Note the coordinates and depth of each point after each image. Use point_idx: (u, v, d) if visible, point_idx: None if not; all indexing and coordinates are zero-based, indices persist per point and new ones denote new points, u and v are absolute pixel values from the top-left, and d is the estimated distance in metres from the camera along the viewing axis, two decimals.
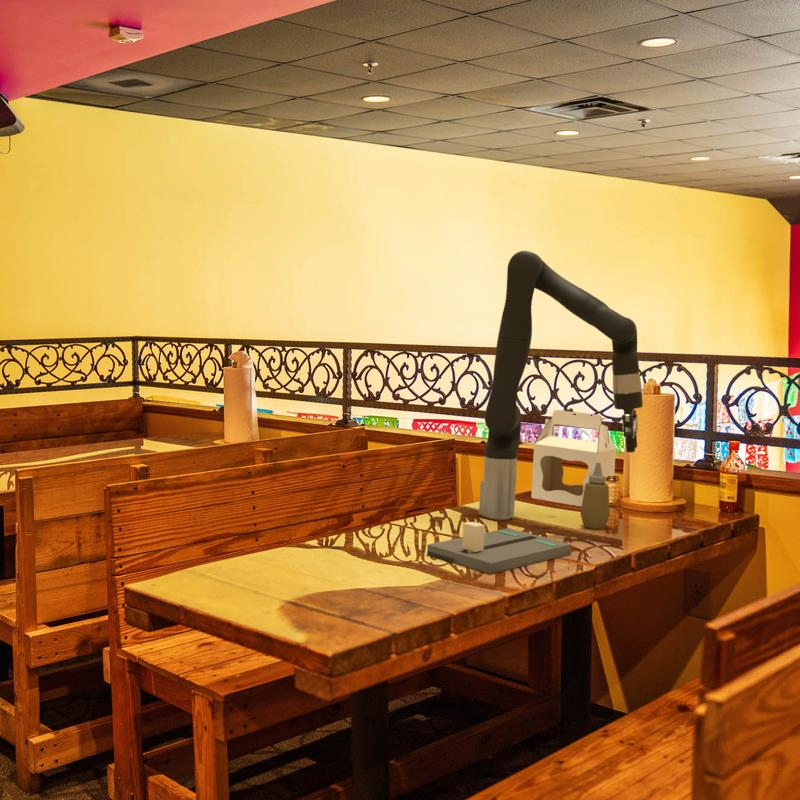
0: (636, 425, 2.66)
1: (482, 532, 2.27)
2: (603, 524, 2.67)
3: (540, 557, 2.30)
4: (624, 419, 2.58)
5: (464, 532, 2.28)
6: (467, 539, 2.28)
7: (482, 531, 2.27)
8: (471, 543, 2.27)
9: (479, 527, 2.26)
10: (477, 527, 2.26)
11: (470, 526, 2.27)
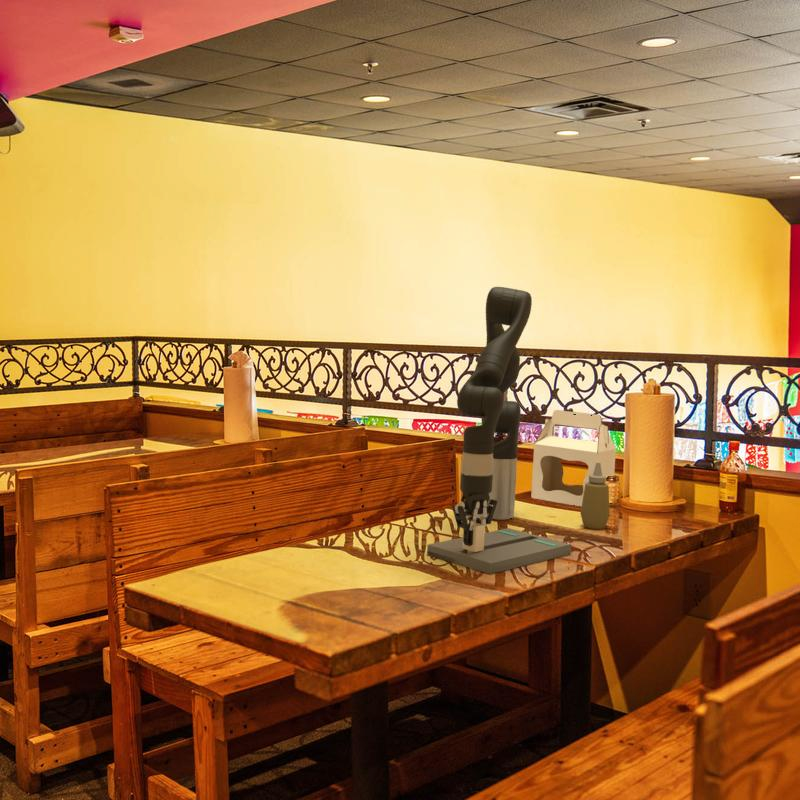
0: (482, 514, 2.27)
1: (482, 532, 2.27)
2: (603, 524, 2.67)
3: (540, 557, 2.30)
4: (454, 511, 2.24)
5: None
6: None
7: (482, 531, 2.27)
8: None
9: (479, 527, 2.26)
10: (477, 527, 2.26)
11: None
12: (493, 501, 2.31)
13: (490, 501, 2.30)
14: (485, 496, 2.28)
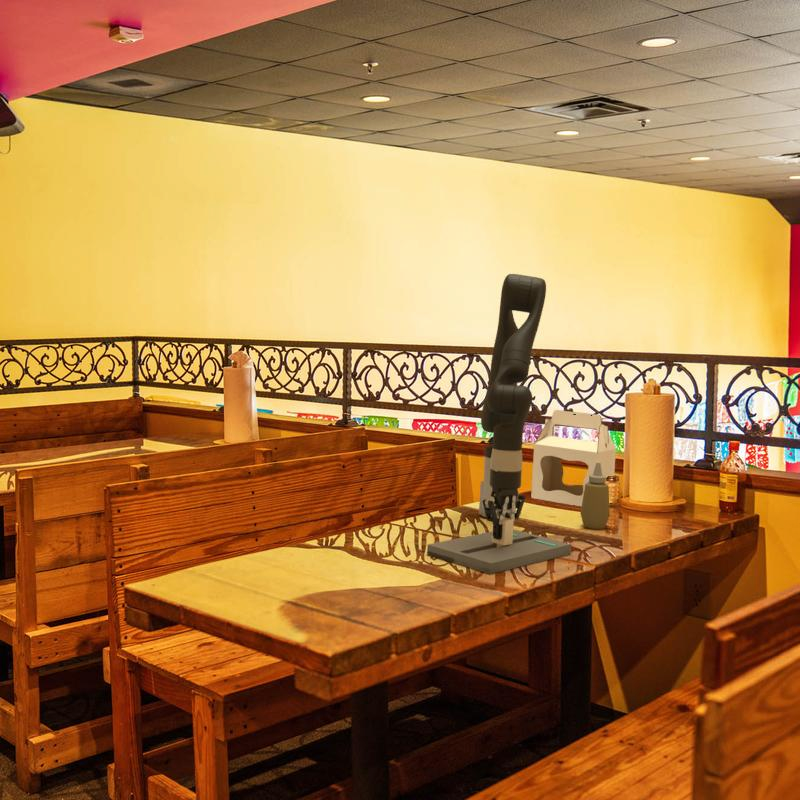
0: (511, 509, 2.35)
1: (511, 526, 2.34)
2: (603, 524, 2.67)
3: (540, 557, 2.30)
4: (484, 505, 2.31)
5: None
6: None
7: (511, 525, 2.34)
8: None
9: (508, 521, 2.34)
10: (506, 521, 2.33)
11: None
12: (521, 496, 2.38)
13: (518, 496, 2.38)
14: (514, 491, 2.35)
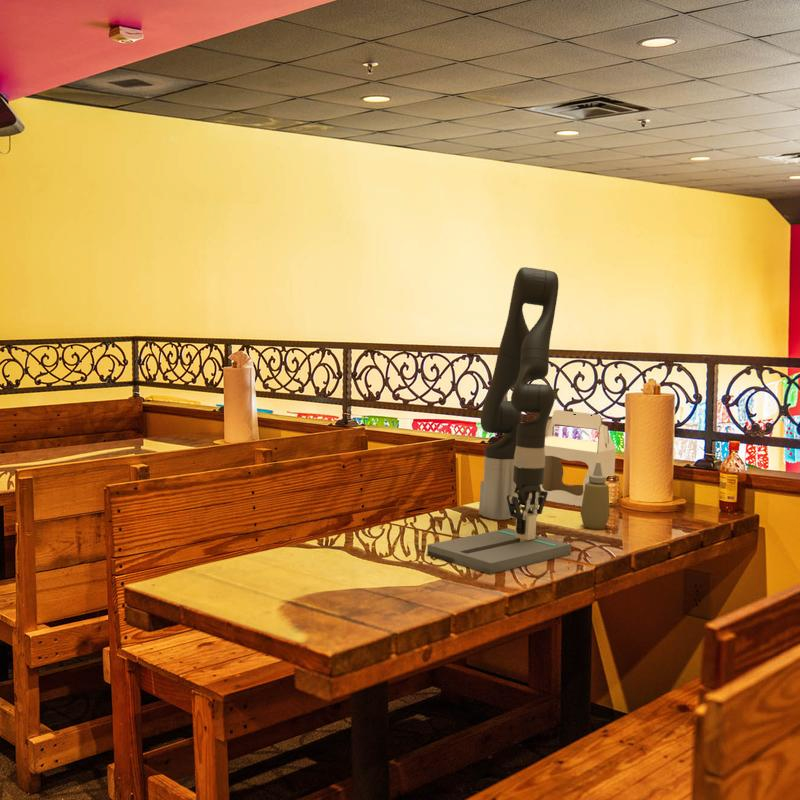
0: (534, 505, 2.41)
1: (534, 521, 2.41)
2: (603, 524, 2.67)
3: (540, 557, 2.30)
4: (508, 501, 2.37)
5: None
6: None
7: (534, 521, 2.41)
8: None
9: (531, 517, 2.40)
10: (530, 517, 2.39)
11: None
12: (544, 492, 2.44)
13: (541, 492, 2.44)
14: (537, 488, 2.41)
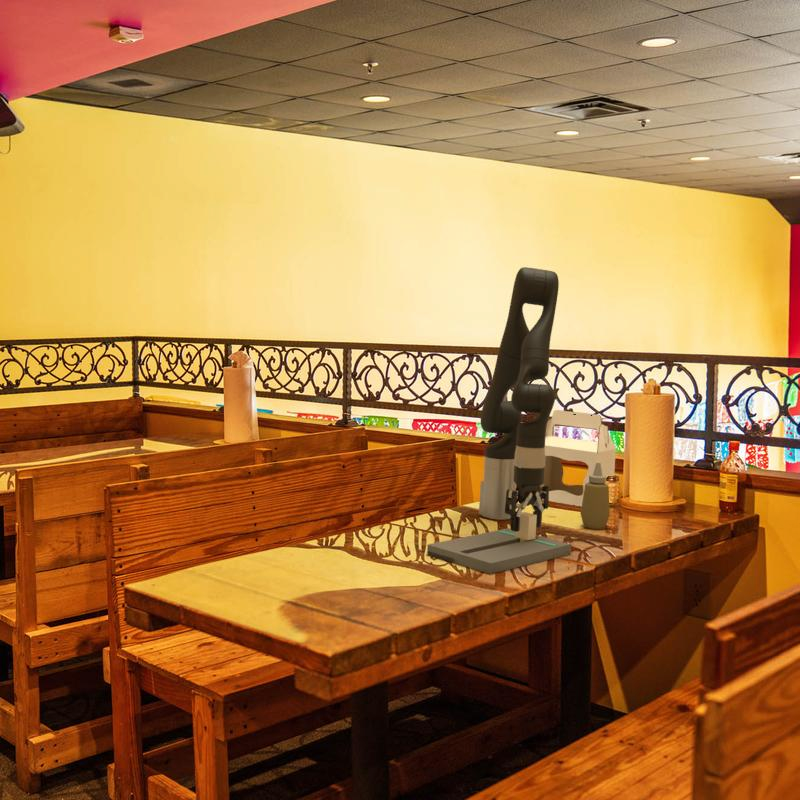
0: (538, 503, 2.42)
1: (534, 521, 2.41)
2: (603, 524, 2.67)
3: (540, 557, 2.30)
4: (507, 495, 2.37)
5: None
6: (520, 528, 2.41)
7: (534, 520, 2.41)
8: (524, 532, 2.40)
9: (532, 517, 2.40)
10: (530, 517, 2.39)
11: (523, 516, 2.40)
12: (545, 487, 2.44)
13: (542, 488, 2.44)
14: (537, 487, 2.41)
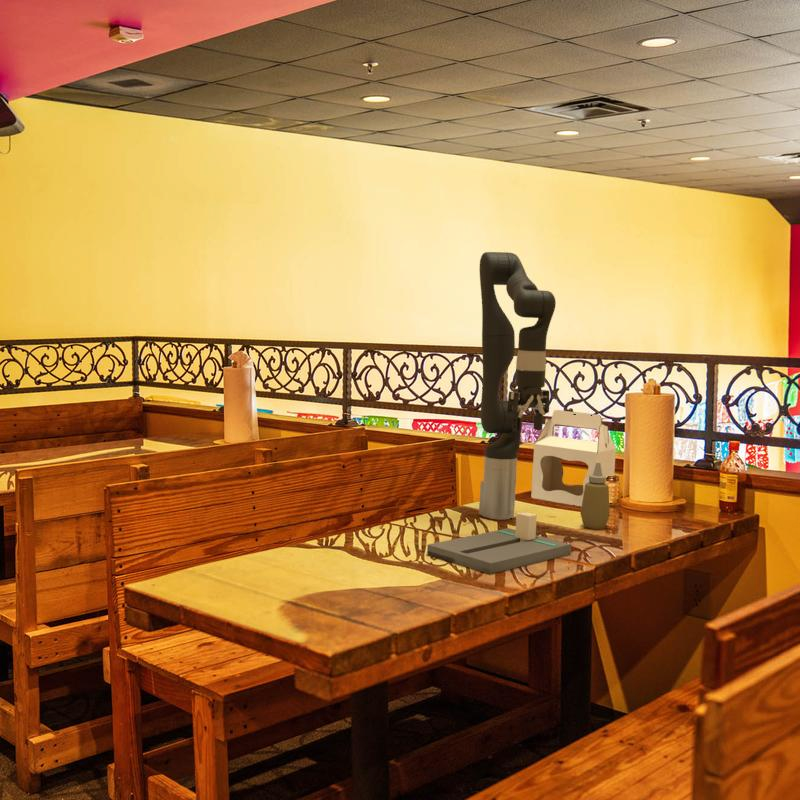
0: (539, 406, 2.51)
1: (534, 521, 2.41)
2: (603, 524, 2.67)
3: (540, 557, 2.30)
4: (509, 396, 2.46)
5: (517, 521, 2.42)
6: (520, 528, 2.41)
7: (534, 520, 2.41)
8: (524, 532, 2.40)
9: (532, 517, 2.40)
10: (530, 517, 2.39)
11: (523, 516, 2.40)
12: (545, 392, 2.53)
13: (543, 393, 2.53)
14: (538, 391, 2.51)
